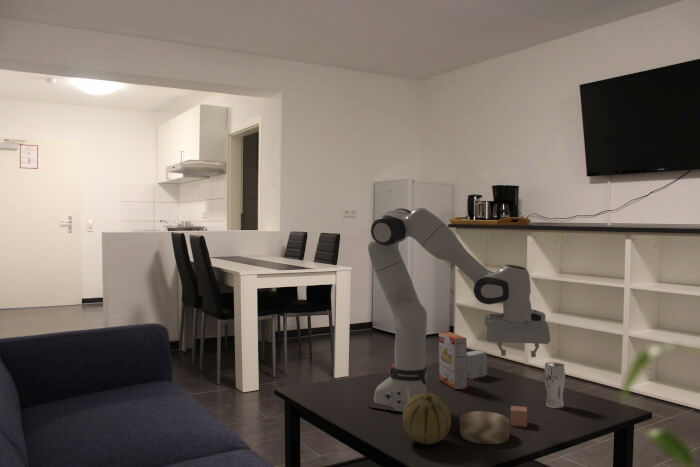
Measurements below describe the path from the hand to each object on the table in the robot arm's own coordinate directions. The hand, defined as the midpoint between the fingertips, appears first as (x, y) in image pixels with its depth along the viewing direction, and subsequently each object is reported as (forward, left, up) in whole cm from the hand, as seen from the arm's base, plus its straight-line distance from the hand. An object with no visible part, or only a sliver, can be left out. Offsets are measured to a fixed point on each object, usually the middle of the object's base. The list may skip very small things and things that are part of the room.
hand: (518, 356), depth 183 cm
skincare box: (-20, +57, -22) cm, 64 cm away
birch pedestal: (-10, -14, -22) cm, 28 cm away
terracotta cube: (0, 0, -22) cm, 22 cm away
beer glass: (+12, +23, -22) cm, 34 cm away
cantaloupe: (-26, -25, -22) cm, 42 cm away
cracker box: (-27, +40, -22) cm, 53 cm away
